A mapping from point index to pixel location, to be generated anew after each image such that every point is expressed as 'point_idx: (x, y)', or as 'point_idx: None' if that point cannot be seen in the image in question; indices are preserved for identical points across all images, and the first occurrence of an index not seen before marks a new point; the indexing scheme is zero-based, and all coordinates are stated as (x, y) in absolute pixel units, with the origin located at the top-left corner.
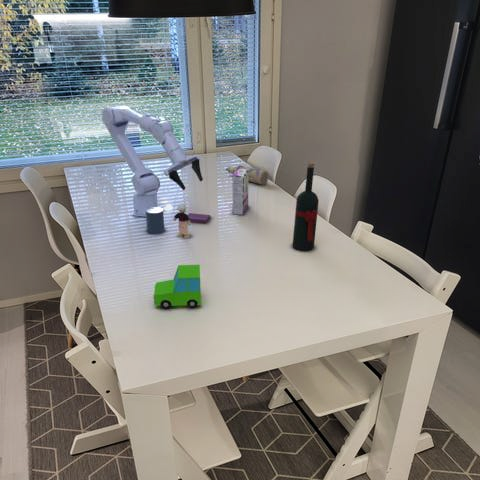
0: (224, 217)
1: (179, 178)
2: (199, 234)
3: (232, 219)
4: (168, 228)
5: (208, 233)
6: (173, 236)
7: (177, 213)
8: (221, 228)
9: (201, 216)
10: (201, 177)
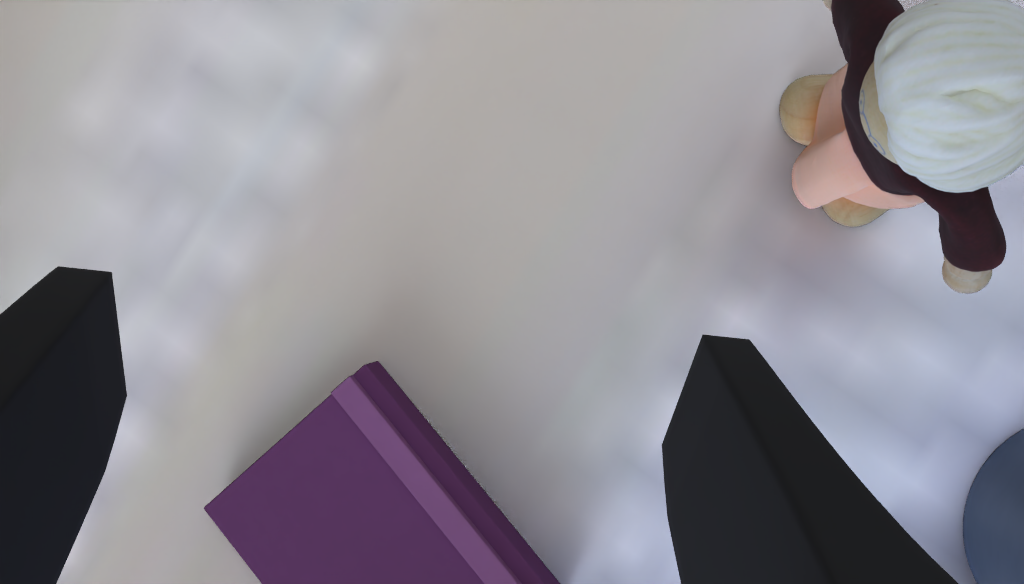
0: None
1: (851, 567)
2: (644, 92)
3: None
4: None
5: (529, 59)
6: None
7: (981, 195)
8: (306, 113)
9: (325, 531)
10: (50, 295)
